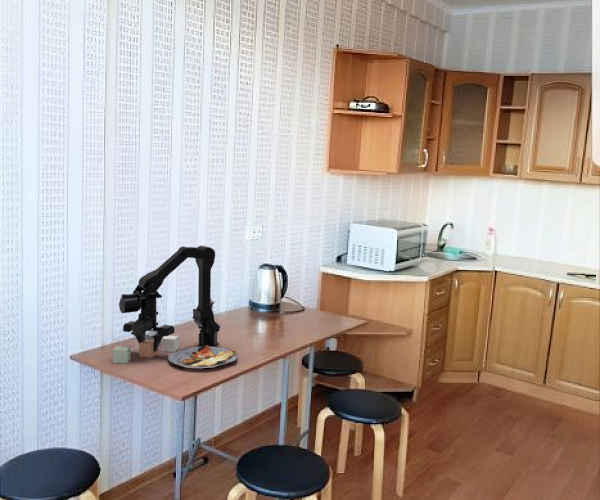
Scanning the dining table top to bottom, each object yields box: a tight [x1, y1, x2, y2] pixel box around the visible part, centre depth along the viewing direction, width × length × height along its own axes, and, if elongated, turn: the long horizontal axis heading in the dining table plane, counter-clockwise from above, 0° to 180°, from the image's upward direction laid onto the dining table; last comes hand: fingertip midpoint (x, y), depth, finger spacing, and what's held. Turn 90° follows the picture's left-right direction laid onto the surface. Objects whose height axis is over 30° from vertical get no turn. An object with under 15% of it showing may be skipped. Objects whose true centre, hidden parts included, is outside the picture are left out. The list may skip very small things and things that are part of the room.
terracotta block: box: [138, 340, 159, 358], centre depth 232 cm, size 5×5×5 cm
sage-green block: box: [112, 345, 131, 364], centre depth 224 cm, size 5×5×5 cm
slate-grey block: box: [145, 331, 162, 347], centre depth 244 cm, size 5×5×5 cm
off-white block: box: [161, 335, 179, 353], centre depth 239 cm, size 5×5×5 cm
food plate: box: [167, 345, 238, 370], centre depth 227 cm, size 25×23×4 cm
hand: (148, 350), depth 232 cm, fingers closed on terracotta block, 5 cm apart
